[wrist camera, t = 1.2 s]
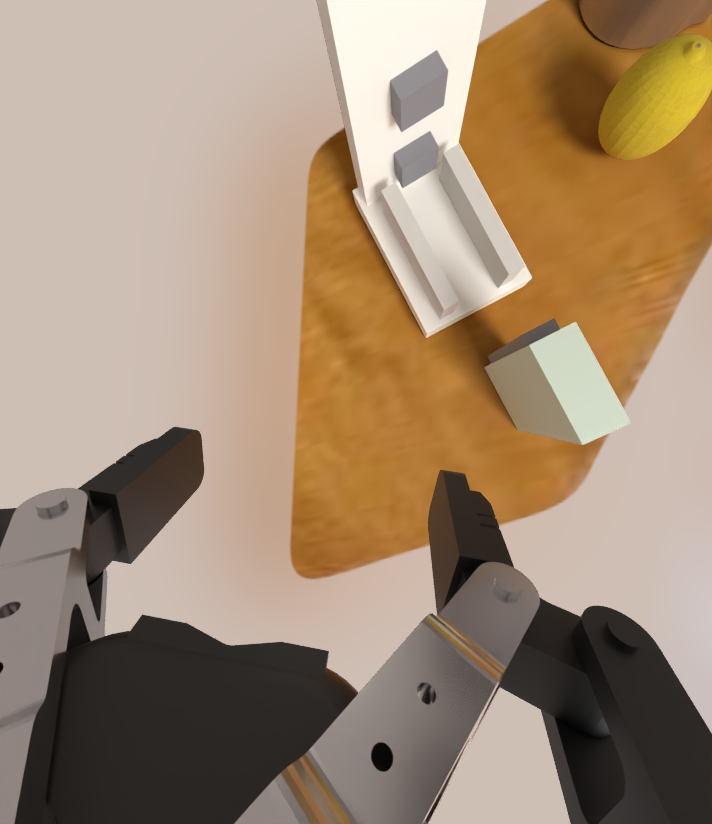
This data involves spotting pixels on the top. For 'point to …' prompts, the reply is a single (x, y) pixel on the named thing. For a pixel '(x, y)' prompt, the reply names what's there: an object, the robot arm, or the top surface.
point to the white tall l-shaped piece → (419, 151)
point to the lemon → (657, 97)
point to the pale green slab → (555, 385)
